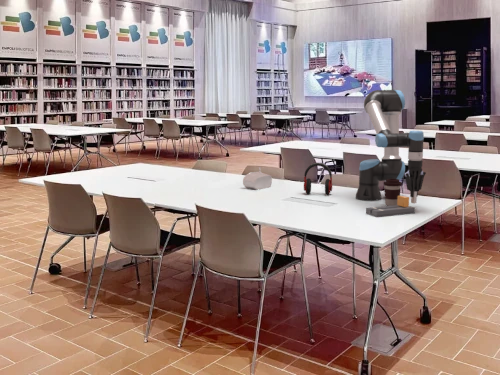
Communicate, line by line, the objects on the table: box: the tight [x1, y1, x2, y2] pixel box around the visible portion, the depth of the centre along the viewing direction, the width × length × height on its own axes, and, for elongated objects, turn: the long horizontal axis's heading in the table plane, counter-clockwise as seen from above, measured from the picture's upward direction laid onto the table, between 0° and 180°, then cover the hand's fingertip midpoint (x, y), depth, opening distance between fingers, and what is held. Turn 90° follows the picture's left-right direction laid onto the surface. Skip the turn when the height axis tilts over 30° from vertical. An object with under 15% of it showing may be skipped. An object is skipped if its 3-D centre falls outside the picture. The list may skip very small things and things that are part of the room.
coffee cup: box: [383, 179, 403, 206], centre depth 342 cm, size 10×10×15 cm
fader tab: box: [397, 194, 410, 207], centre depth 325 cm, size 6×3×7 cm, turn 22°
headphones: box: [303, 162, 333, 196], centre depth 379 cm, size 18×10×20 cm, turn 79°
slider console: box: [365, 205, 416, 218], centre depth 323 cm, size 10×24×3 cm, turn 112°
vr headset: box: [242, 166, 273, 190], centre depth 405 cm, size 18×11×14 cm, turn 137°
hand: (413, 202), depth 328 cm, fingers closed
